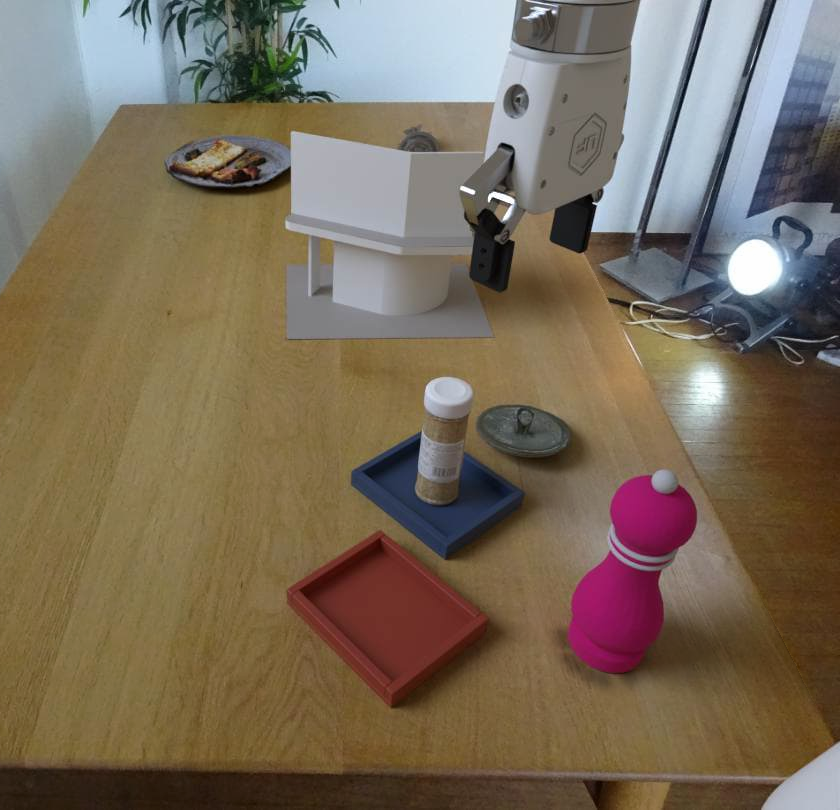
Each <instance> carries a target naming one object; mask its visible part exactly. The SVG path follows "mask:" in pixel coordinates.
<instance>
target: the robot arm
mask: <svg viewBox="0 0 840 810" xmlns="http://www.w3.org/2000/svg"><path fill="white" fill-rule="evenodd" d="M641 1H642V0H516V2H515V9H514V14H513V22H512V29H511V36H510V43H509V48H510V49H511V50H509V51H508V53H507V57H506V59H505V63H504V65H503V70H502V74H501V76H500V80H499V84H498V88H497V92H496V96H495V100H494V105H493V109H492V113H491V119H490V123H489V128H488V134H487V139H486V146H485V152H484V157H483V163H482V166H481V167H480V168H479V169H478V170H477V171H476V172H475V173H474V174H473V175H472V176H471V177H470V178H469V179H468V180H467V181H466V182H465V183H464V184H463V185H462V186H461V189H460V192H459V193H460V198H461V201H462V205H463V208H464V211H465V212H464V218H465V220H466V221H467V222H468V224H469V225H470V231H472V232H474V233H475V234H474V242H473V249H472V255H471V258H470V266H469V276H470V278H471V279H472V280H473V282H474V283H477V284H480V285H481V286H483V287H486V288H488V289H490V290H492V291H494V292H496V293H498V294H501V293H503V292H505V291H507V290H508V287H509V283H510V282H509V281H510V277H511V271H512V265H513V264H512V263H513V258H514V251H515V247H516V241H515V240H512V239H510V238H511V236H512V235H513V234H514V232H515V230H516V228H517V226H518V225H519V223H520V221H521V220H522V218H523V217H524V216H525V215H524V214H525V213H528V214H531V215H533V216H540V215H543V214H546V213H548V212H551V211H554V213H553V218H552V223H551V229H550V234H549V241H550V243H552V244H554V245H557V246H559V247H562V248H564V249H566V250H568V251H571V252H574V253H576V254H579V255H580V254H583V253H585V252H586V251H587V250H588V247H589V242H590V238H591V234H592V230H593V226H594V220H595V216H596V212H597V209H598V205H597V204H598V203H600V202H601V200H602V199H603V197H604V193H605V188H604V187H606V186H607V185H608V184H609V183H610V182H611V180H612V179H613V177H614V173H615V170H616V165H617V162H618V161H617V160H618V156H619V152H620V149H621V147H622V145H623V143H624V140H625V134H624V133H623V130H624V124H625V118H626V112H627V106H628V97H629V91H630V82H631V73H632V40H633V35H634V32H635V27H636V22H637V18H638V15H639V14H638V13H639V10H640V5H641ZM511 193H514V195H511ZM594 203H595V204H594ZM499 206H503V207H506V208H508V209H507V211H506V213H505V215H504V216H503V218H502V220H500V219H499V217H498V216H497V215H496V214H495V212H496V210H497V208H499ZM760 810H840V741H838V742H836V743H835V744H833V745H832V746H831V747H829V748H828V749H827V750H825V751H824V752H822V753H821V754H819V755H818V756H817V757H815V758H814V759H813V760H811V761H810V762H809V763H807V764H806V765H804V766H803V767H802V768H800V769H799V770H797V771H796V772H795V773H793V774H792V775H791V776H789V777H788V778H787V779H785V780H784V781H783V782H782V783H781V784H779V785H778V786H777V788H775V789H774V790H773V791H772V793H771V794H770V795H769V796H768V797H767V799H766V800H765V802H764V803H763V805H762V806H761V809H760Z"/></svg>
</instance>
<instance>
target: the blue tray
mask: <svg viewBox="0 0 840 810" xmlns="http://www.w3.org/2000/svg"><path fill="white" fill-rule="evenodd" d="M421 436H422V430H421V431H418V432H417V433H415V434H413V435H412V436H410V437H408V438H406V439H404V440H403V441H401V442H400V443H398V444H396V445H394V446H393V447H391V448H389V449H387V450H385V451H383V452H382V453H380V454H379V455H377V456H375V457H373V458H372V459H370V460H368V461H366V462H364V463H363V464H361V465H359V466H358V467H356V468H354V469H352V470H351V471H350V472H351V473H350V485H351V486H352V487H353V488H354V489H356V490H357V491H358V492H359V493H360V494H362V496H364V497H366V499H368V500H369V501H370V502H372V503H373V504H374V505H375V506H377V507H378V508H379V509H381V510H382V511H383V512H384V513H386V515H388V516H389V517H390V518H392V519H393V520H394V521H395V522H397V523H398V524H399V525H400V526H402V527H403V528H404V529H405V530H407V531H408V532H409V533H411V534H412V535H413V536H414V537H415V538H417V539H418V540H419V541H421V542H422V543H423V544H425V545H426V546H427V547H428V548H429V549H430V550H432V551H433V552H434V553H435V554H437V555H438V556H440V558H442V559H443V560H447V559H449V558H450V557H451V556H453V555H454V554H456V553H457V552H459V551H460V550H461V549H463V548H464V547H466V546H467V545H469V544H470V543H471V542H473V541H474V540H476V539H478V537H480V536H481V535H483V534H484V533H486V532H487V531H489V530H490V529H492V528H493V527H495V526H496V525H497V524H498V523H500V522H501V521H503V520H504V519H506V518H507V517H508V516H510V515H512V514H513V513H514V512H515V511H517V510H518V509H520V508H522V507H523V505H524V504H523V503H524V500H525V495H526V491H524V490H523V489H521V488H520V487H518V486H517V485H515V484H514V483H512V482H510V481H509V480H507V478H505V477H504V476H502V475H500V474H499V473H498V472H496V471H494V470H492V468H490V467H488V466H487V465H485V464H484V463H482V462H481V461H479V460H478V459H477V458H475V457H474V456H472V455H471V454H469V453H468V452H466V451H464V457H463V463H462V469H461V472H460V477H459V484H458V496H457V498H456V499H455V500H454V501H453V502H451V503H449V504H446V505H431V504H428V503H426V502H424V501H423V500H421V499H420V498H419V497H418V496H417V494H416V492H415V485H416V482H417V475H418V461H419V453H420V445H421Z"/></svg>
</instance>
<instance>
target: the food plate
mask: <svg viewBox="0 0 840 810" xmlns="http://www.w3.org/2000/svg"><path fill="white" fill-rule="evenodd" d="M164 166H165V171H166V173H168V174H169V175H170V176H171V177H172V178H174V179H178V180H179V181H182V182H186V183H189V184H192V185H194V186H195V187H202V188H203V187H204V188H227V189H235V188H239V189H240V188H243V190H245V189H246V188H251V187H253V186H254V185H256V184H257V186H258V185H259V186H261V185H263V184H265V183H267V182H268V181H271V180H274V179H275V178H276V177H278V176H280V175H282V173H283V172H285V171H287V170H288V169H289V168H291V148H289V147H288V146H286V145H285V144H283V143H280V142H279V141H277V140H274V139H273V140H272V138H271V139H270V138H265V137H258V136H256V135H255V136H254V135H238V134H237V135H236V134H233V135H231V134H229V135H228V134H227V135H225V134H224V135H217V136H216V135H215V136H210V137H205V138H203V139H197V140H191V141H189V142H187V143H185V144H183V145H181V146H180V147H178V148H177V149H176V150H174V151H172V152H171V153H170V154H168V156H166V158H165V160H164Z"/></svg>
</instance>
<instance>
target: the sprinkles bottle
mask: <svg viewBox="0 0 840 810" xmlns="http://www.w3.org/2000/svg"><path fill="white" fill-rule="evenodd" d="M474 393H475V392H474V389H473V388H472V386H471V385H470V384H469V383H468V382H466V381H464V380H463V379H460V378H457V377H453V376H442V377H437V378H435V379H432V380H431V381H430V382H429V383H427V384H426V387H425V390H424V397H423V405H424V414H423V422H422V423H423V424H422V429H421V431H422V436H421V445H420V453H419V461H418V475H417V482H416V485H415V492H416V494H417V496H418V497H419V498H420V499H421V500H423V501H424V502H426V503H428V504H431V505H446V504H449V503H451V502H453V501H454V500H455V499H456V498H457V496H458V484H459V477H460V472H461V469H462V463H463V457H464V451H465V450H466V448H465V446H466V440H467V431H468V424H469V418H470V414H471V412H472V409H473V406H474V405H473V404H474V396H475V394H474ZM465 452H466V451H465Z"/></svg>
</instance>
